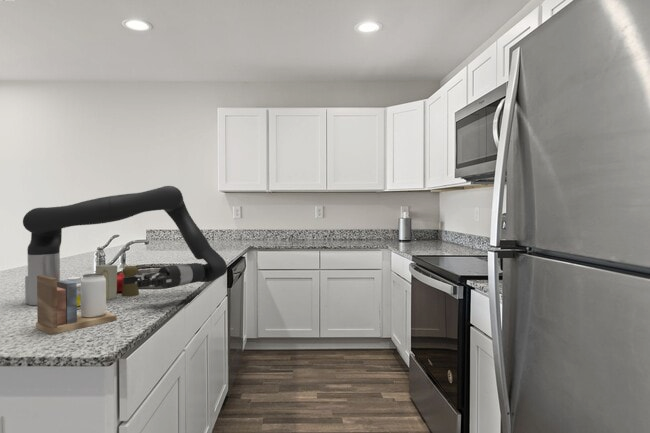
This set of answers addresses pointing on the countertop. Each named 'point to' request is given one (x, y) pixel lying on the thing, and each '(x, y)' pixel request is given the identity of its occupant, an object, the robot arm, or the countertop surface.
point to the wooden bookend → (61, 307)
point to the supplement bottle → (78, 281)
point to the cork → (130, 288)
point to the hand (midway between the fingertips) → (130, 282)
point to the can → (93, 295)
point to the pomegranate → (120, 282)
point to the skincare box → (109, 279)
